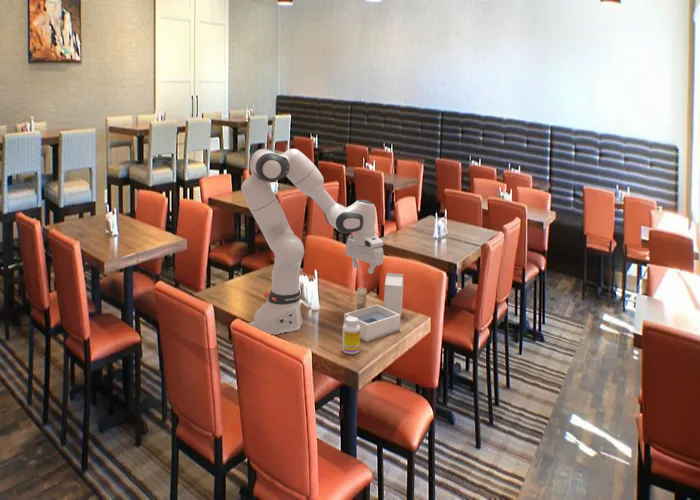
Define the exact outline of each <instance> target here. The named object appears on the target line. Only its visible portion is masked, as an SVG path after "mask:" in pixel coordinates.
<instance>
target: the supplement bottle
mask: <svg viewBox="0 0 700 500" xmlns="http://www.w3.org/2000/svg"><path fill="white" fill-rule="evenodd" d="M345 322H346V324H345V325H344V324H343V325H342V337H341V339H342V340H341V342H342V343H341V351H342V352H343V353H345V354H348V355H355V354H358V353H359V352H360V351H361V339H360V331H361V328H360V326H359V325H358V318H356V317H347V318H346V321H345Z"/></svg>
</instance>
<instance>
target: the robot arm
mask: <svg viewBox="0 0 700 500" xmlns="http://www.w3.org/2000/svg"><path fill="white" fill-rule="evenodd" d="M248 160H249V161H248V162H249V163H248V174H249V177H247V178H245V180H244V181H243V182H242V183H241V187H240V189H241V192H242V195H243V196H242V197H243V198H244V201H245V203H246V206H247V207H248V209H249V211H250V213H251V214H252V216H253V218H254V220H255V222H256V223H257V225H258V227H259V229H260V231H261V233H262V235H263V238H264V239H265V241H266V243H267V245H268V246H269V248H270V250H271V251H272V253H273V254H274V261H273V262H274V263H273V269H272V271H271V290H270V292H267V291H264V292H263V297H264V298H266V299H267V300H266V302H264V304H262V305H261V306H260V308H258V309H257V310H256V311H255V313H254V317H253V321H251V322H248V324H251V325H253V326H255V327H257V328H259V329H261V330H264V331H266V332H268V333H270V334H273V335H272V336H275V335H280V333H281V334H285V332H287V333H292V332H296V331H300V330H301V326H302V325H303V323H304V322H303V317H302V313H301V307H300V300H301V290H300V271H301V270H300V269H301V265H302V259H303V257H304V255H305V247H304V244H303V241H302V240H301V238H299V237H298V236H297V235H296V234H295V232H294V231H293V230H292V228H291V226H290V224H289V222H288V219H287V217H286V214H285V212H284V210H283V207H281V204H280V202H279V201H278V199H277V197H276V195H275V193H274V192H273V190H272V187H271V183H272V182H273V183H274V182H277V181H279V180H280V179H282V178H284V177H286V178H288V180H289V181H290V182H291V183H292V184H293V185H294V186H295V188H296V189H298V190H299V191H300V192H301V193H303V194H304V195H305V196H307V197H310V198H311V199H312V200H313V201H314V202H315V203H316V205H318V207H319V208H320V209H321V211H322V212H323V214H324V217H325V221H326V223H327V224H328V226H330V227H331V228H332V227H333V228H334V229H336V231H338V232H340V233H342V234H349V235H348V236H347V240H346V244H345V255H346V256H348V257H351V261H352V266H353V268H355V269H358V268H359V266H360V265H359V263H358V260H360V261H361V262H365V263H368V264H369V266H370V267H369V268H368V269H367V273H368V274H370V275H371V274H373V273H374V271H375V270H374V269H375V268H376V266H380V265H382V264H384V263H383V262H384V249H383V247H382V246H384V241H383V239H381V238H380V237H379V236H378V235H377V234H376V230H375V229H376V228H375V224H376V217H377V216H376V215H377V213H376V206H375V204H374V203H373V202H371V201H369V200H366V199H357V200H356V201H355V202H354V203H352V204H351V205H349V206H347V207H346V206H345V205H343V204H341V203H338V202H336V201H335V200H334V199H333V198H332V196H331V195H330V194H329V192H328V191H326V189H325V187H324V182H325V181H324V180H325V179H324V176H323V175H322V173H321V172H320V170H319V168H318V167H317V166H316V165H315V163H313V162H312V161H311V159H309V157H307V155H305V154H304V153H303V152H302V151H300V150H299V149H297V148H289V149H287V150H286V151H284V152H283V153H282V154H278V153H276V152H274V151H273V150H271V149H268V148H264V147H263V148H258V149H256V150H254V151H253V152H252V153H251V154H250V157H249V159H248ZM350 233H351V234H350ZM352 233H353V234H352Z"/></svg>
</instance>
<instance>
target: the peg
mask: <svg viewBox="0 0 700 500" xmlns="http://www.w3.org/2000/svg"><path fill="white" fill-rule="evenodd" d="M367 292H368V289H367V288H366V287H358V288H357V291H356V293H357V294H356V297H357V298H356V310H359V309H363V308H366V307H367V296H368V295H367V294H368V293H367Z"/></svg>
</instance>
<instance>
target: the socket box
mask: <svg viewBox="0 0 700 500" xmlns="http://www.w3.org/2000/svg"><path fill="white" fill-rule="evenodd" d="M401 316H402V314H401V315H400V314H398V313H396V312H393V311H391V310H389V309H387V308H384V306H382V305H379V304H373V305H370V306H366V308H363V309H359V310H357V309H356V310H352V311H349V312H345V313H343V326H344V325H345V324H346V322H345V321H346V318H347V317H356V318H358V325H359V326H360V328H361V331H360V340H362V341H364V342H370V341H373V340H375V339H379V338H382V337H385V336H388V335H391V334H395V333H397V332H400V330H401Z"/></svg>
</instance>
